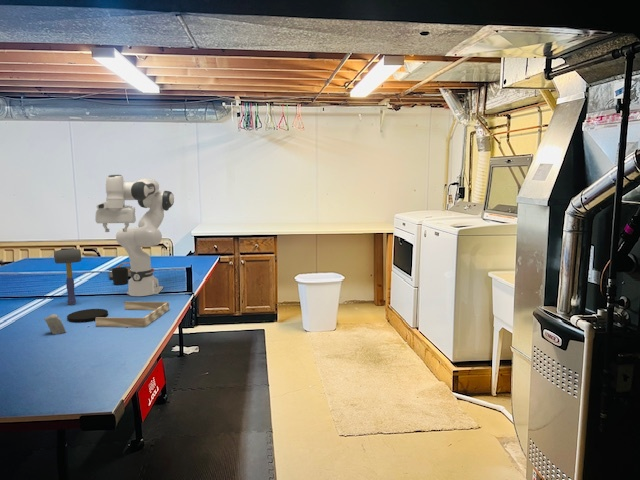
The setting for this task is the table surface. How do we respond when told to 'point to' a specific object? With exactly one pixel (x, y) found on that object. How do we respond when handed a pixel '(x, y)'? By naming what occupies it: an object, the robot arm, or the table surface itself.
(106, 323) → the box
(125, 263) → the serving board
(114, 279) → the pen holder
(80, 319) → the wireless charger
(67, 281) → the rubber mallet
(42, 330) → the table surface
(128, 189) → the robot arm
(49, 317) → the mineral specimen
